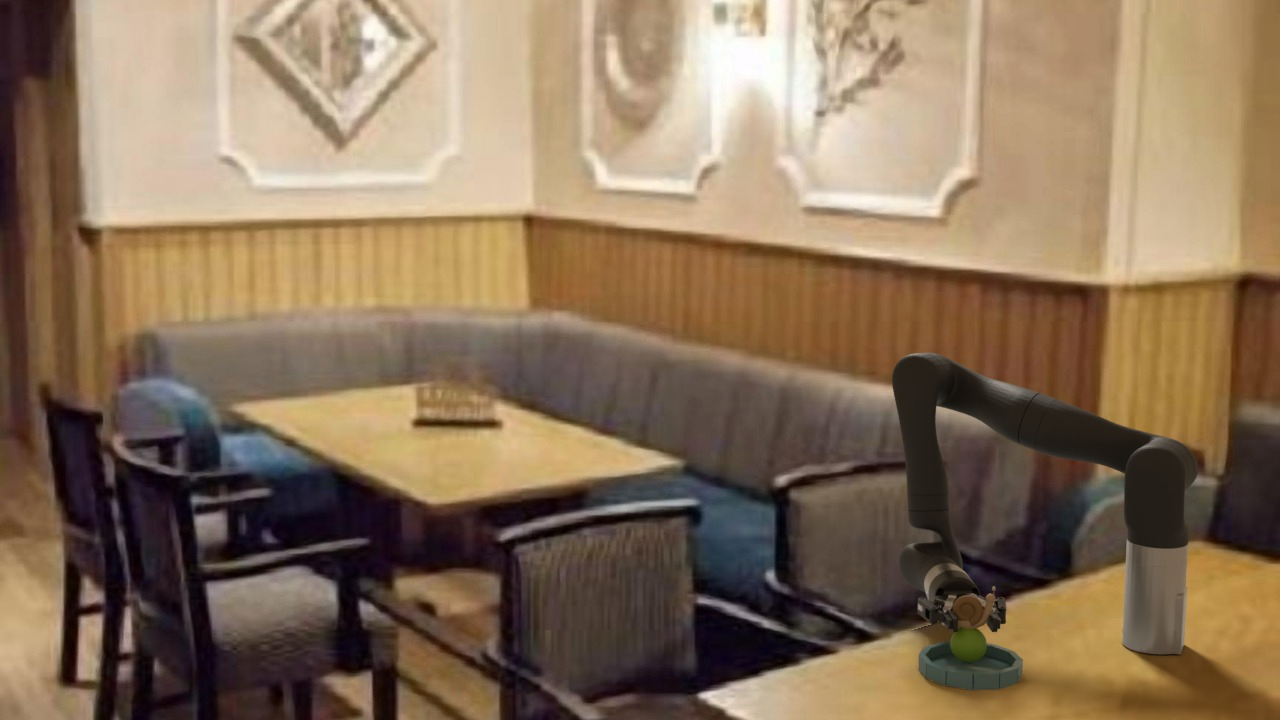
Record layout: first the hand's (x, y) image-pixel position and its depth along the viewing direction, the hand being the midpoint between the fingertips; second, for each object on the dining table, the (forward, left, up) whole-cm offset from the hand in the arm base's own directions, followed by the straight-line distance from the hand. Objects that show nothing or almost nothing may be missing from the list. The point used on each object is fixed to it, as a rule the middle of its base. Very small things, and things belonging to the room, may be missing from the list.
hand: (975, 625), depth 228 cm
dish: (+1, -2, -8) cm, 8 cm away
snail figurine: (+1, -2, -7) cm, 7 cm away
